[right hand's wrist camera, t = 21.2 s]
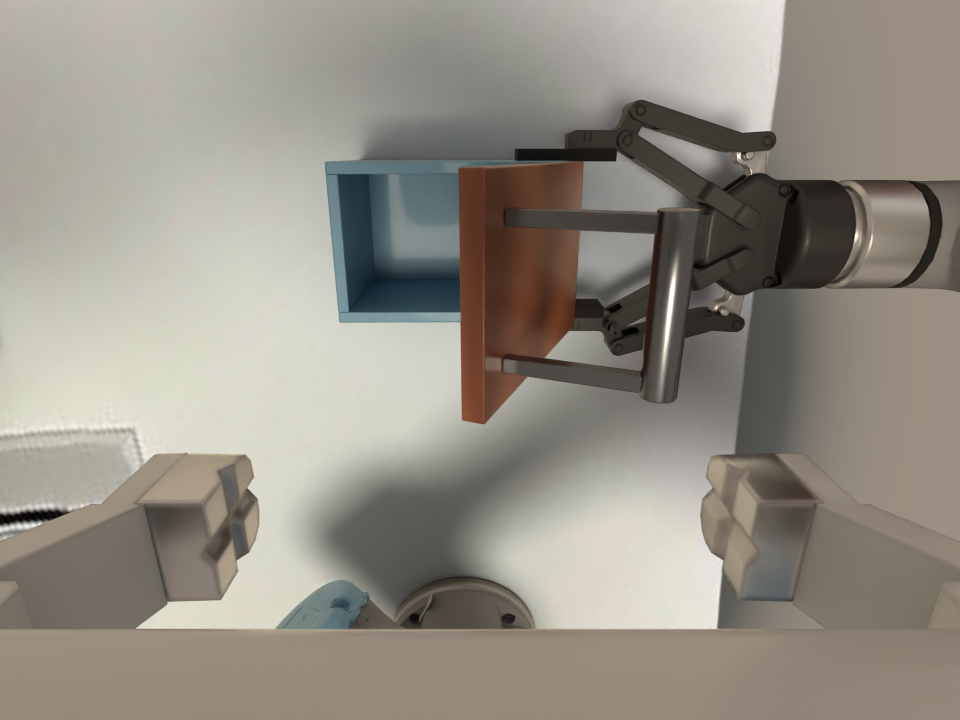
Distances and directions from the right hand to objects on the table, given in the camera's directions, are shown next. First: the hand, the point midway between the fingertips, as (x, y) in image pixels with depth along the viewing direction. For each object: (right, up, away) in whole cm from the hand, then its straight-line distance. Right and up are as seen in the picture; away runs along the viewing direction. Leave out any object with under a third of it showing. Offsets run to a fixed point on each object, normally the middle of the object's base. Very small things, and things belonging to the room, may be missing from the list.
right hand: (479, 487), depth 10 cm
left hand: (+2, +11, +30) cm, 32 cm away
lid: (+2, +7, +18) cm, 20 cm away
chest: (-2, +13, +36) cm, 38 cm away
